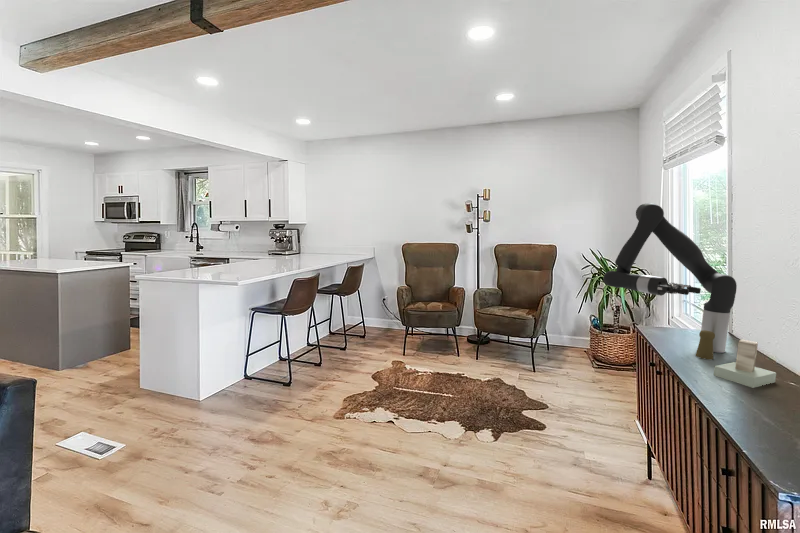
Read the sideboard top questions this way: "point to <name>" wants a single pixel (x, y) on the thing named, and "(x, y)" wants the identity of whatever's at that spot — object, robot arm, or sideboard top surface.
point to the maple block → (746, 355)
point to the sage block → (745, 375)
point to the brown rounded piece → (705, 345)
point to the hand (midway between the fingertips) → (694, 291)
